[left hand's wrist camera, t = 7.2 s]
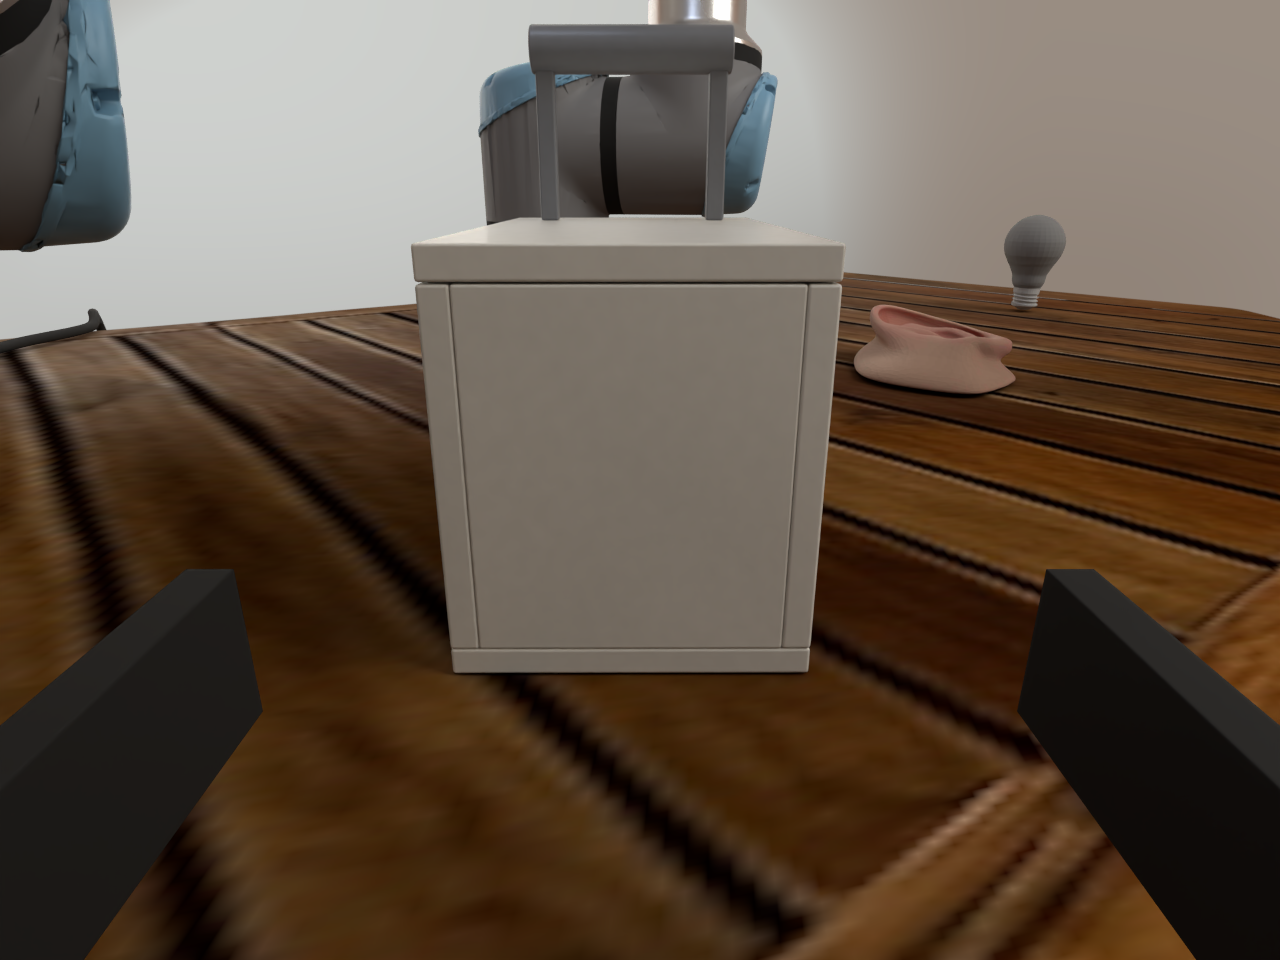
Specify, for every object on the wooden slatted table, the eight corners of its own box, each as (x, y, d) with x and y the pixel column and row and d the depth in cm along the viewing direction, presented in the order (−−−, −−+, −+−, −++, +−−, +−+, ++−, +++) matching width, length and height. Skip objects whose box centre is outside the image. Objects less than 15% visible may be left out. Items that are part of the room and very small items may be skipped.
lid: (518, 238, 35) (508, 39, 32) (746, 238, 35) (755, 39, 32) (413, 282, 18) (373, -118, 16) (843, 281, 18) (878, -118, 16)
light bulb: (1004, 312, 85) (1020, 215, 81) (987, 305, 90) (1001, 214, 87) (1062, 313, 84) (1080, 216, 81) (1040, 305, 90) (1057, 214, 86)
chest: (529, 472, 38) (517, 240, 34) (737, 473, 38) (748, 240, 34) (452, 674, 22) (413, 284, 18) (808, 673, 22) (843, 284, 18)
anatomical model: (1029, 338, 48) (842, 326, 53) (1018, 400, 50) (837, 384, 54) (1019, 309, 60) (865, 301, 64) (1010, 360, 61) (861, 349, 65)
